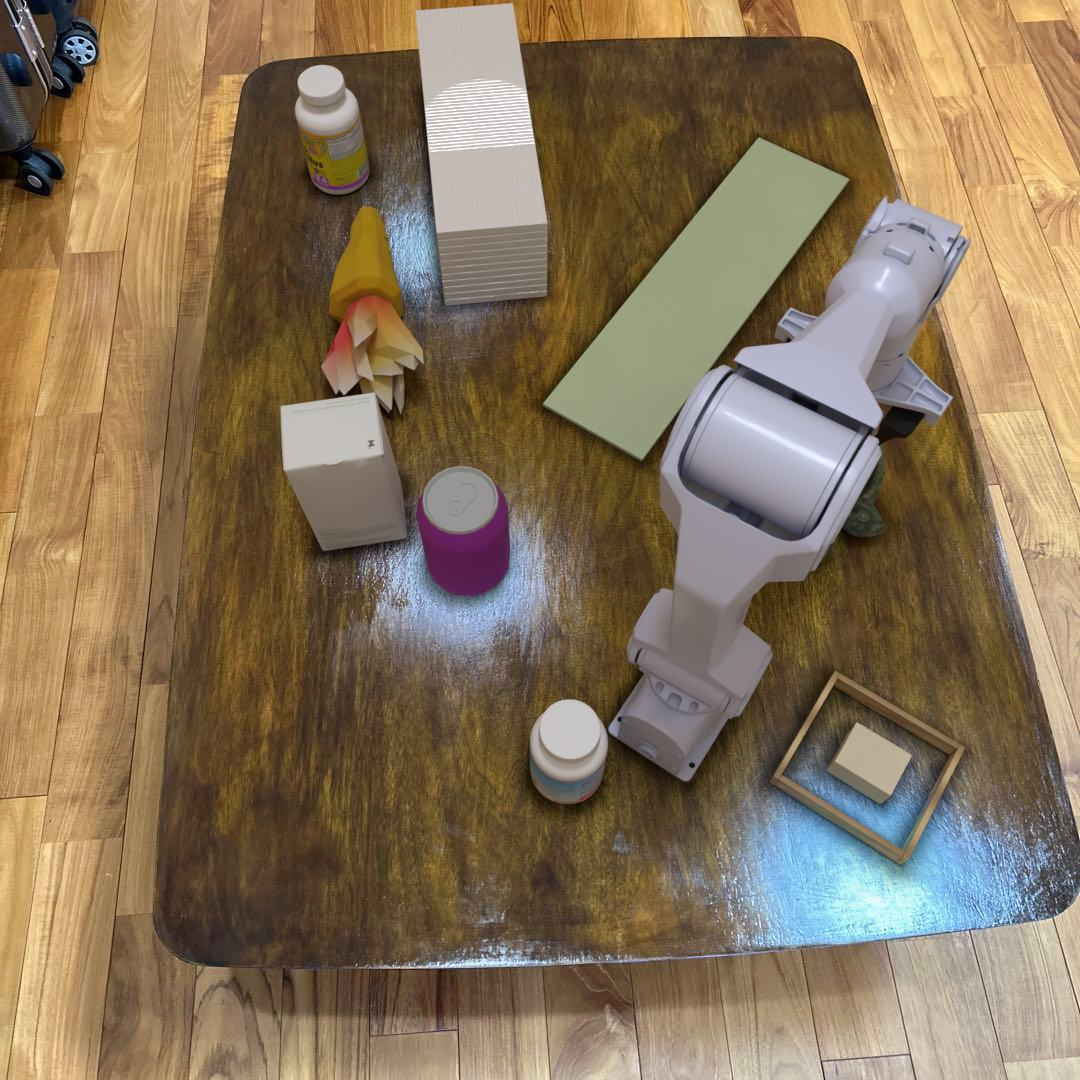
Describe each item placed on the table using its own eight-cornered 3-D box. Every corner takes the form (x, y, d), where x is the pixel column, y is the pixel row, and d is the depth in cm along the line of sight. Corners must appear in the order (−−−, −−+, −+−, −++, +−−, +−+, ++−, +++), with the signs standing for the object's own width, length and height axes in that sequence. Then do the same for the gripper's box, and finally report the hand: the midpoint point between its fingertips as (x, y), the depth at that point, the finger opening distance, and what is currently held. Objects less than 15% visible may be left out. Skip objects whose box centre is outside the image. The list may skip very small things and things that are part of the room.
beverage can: (481, 615, 96) (474, 556, 86) (410, 575, 98) (394, 512, 87) (526, 549, 99) (524, 484, 88) (457, 511, 101) (447, 443, 90)
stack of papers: (546, 296, 113) (547, 222, 103) (445, 305, 112) (436, 232, 102) (514, 84, 127) (512, 2, 118) (424, 92, 127) (415, 10, 117)
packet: (880, 804, 89) (891, 795, 86) (825, 771, 90) (834, 761, 87) (901, 765, 90) (912, 755, 87) (847, 732, 91) (856, 721, 89)
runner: (641, 462, 103) (642, 459, 103) (542, 406, 106) (542, 403, 106) (848, 182, 120) (849, 178, 120) (757, 140, 123) (758, 137, 123)
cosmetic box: (402, 482, 102) (380, 387, 89) (409, 544, 99) (387, 455, 86) (313, 494, 102) (278, 401, 88) (318, 556, 99) (282, 469, 85)
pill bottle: (596, 812, 88) (603, 776, 78) (523, 797, 89) (521, 760, 79) (609, 741, 91) (617, 698, 81) (538, 727, 92) (538, 683, 81)
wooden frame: (900, 865, 86) (908, 860, 85) (768, 782, 89) (773, 776, 88) (957, 753, 90) (965, 747, 89) (829, 678, 94) (835, 670, 92)
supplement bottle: (303, 165, 121) (278, 68, 110) (358, 147, 122) (339, 49, 111) (323, 205, 118) (300, 110, 107) (379, 186, 120) (362, 91, 108)
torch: (385, 261, 119) (395, 433, 105) (315, 240, 116) (316, 414, 102) (412, 204, 114) (427, 377, 100) (340, 180, 110) (345, 356, 96)
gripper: (991, 338, 79) (938, 424, 92) (820, 246, 83) (792, 341, 96) (944, 407, 78) (897, 486, 90) (771, 311, 81) (749, 399, 94)
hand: (840, 415), depth 93 cm, fingers open, 7 cm apart
